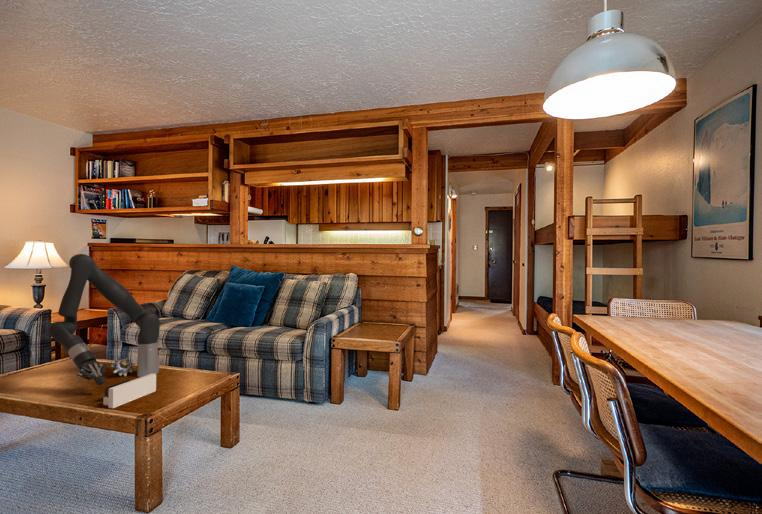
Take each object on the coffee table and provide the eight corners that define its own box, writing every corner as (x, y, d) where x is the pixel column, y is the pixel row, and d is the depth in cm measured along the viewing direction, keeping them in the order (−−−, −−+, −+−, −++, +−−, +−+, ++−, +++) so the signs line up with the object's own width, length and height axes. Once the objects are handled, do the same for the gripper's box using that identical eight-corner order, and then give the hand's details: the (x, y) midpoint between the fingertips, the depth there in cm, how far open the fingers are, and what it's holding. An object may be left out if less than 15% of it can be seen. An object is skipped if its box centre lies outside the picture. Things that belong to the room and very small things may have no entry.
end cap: (124, 393, 177) (124, 379, 177) (136, 395, 175) (137, 380, 175) (103, 401, 168) (104, 385, 168) (116, 403, 166) (116, 387, 166)
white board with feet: (143, 389, 183) (143, 372, 183) (156, 390, 181) (156, 373, 181) (98, 406, 162) (99, 387, 162) (112, 408, 160) (113, 389, 160)
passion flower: (124, 386, 203) (115, 372, 196) (109, 380, 206) (99, 366, 199) (142, 369, 212) (133, 355, 204) (127, 364, 215) (118, 350, 208)
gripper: (71, 353, 171) (93, 383, 168) (99, 346, 184) (120, 374, 181) (62, 364, 172) (83, 394, 169) (91, 357, 185) (111, 384, 182)
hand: (102, 384), depth 175 cm, fingers closed
